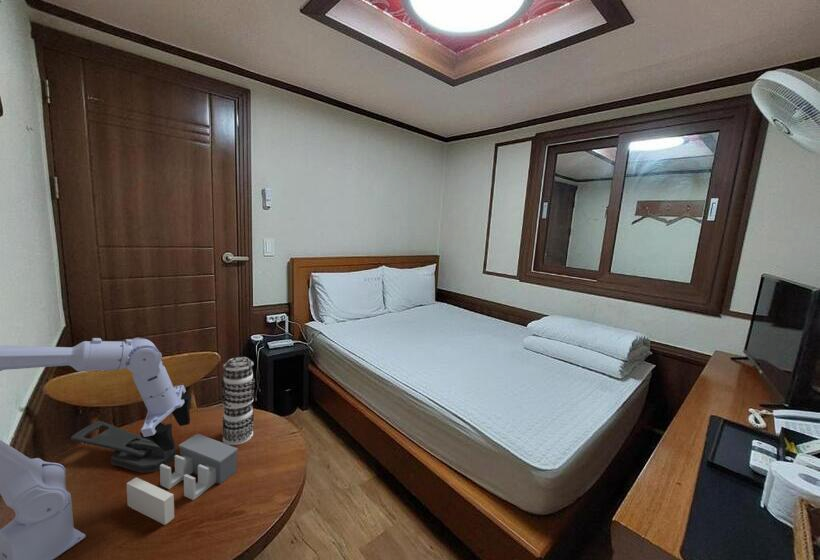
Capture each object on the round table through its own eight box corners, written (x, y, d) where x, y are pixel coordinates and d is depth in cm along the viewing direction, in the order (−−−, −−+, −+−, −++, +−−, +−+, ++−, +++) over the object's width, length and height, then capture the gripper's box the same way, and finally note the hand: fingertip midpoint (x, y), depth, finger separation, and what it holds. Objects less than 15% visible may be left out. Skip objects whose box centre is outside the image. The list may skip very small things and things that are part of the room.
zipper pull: (100, 418, 94) (181, 430, 92) (101, 439, 95) (182, 452, 93) (65, 437, 85) (153, 452, 83) (67, 460, 86) (154, 475, 84)
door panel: (174, 518, 73) (173, 494, 72) (165, 525, 71) (164, 501, 70) (137, 500, 77) (136, 477, 76) (127, 506, 75) (126, 483, 74)
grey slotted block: (198, 502, 77) (198, 477, 76) (155, 483, 82) (154, 459, 81) (237, 470, 88) (237, 448, 87) (197, 454, 92) (197, 433, 91)
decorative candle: (213, 443, 97) (213, 364, 93) (234, 425, 106) (234, 352, 103) (242, 448, 96) (242, 368, 92) (260, 429, 105) (261, 356, 102)
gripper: (158, 408, 67) (180, 457, 72) (190, 367, 81) (207, 411, 85) (120, 415, 66) (146, 464, 71) (159, 372, 80) (178, 416, 84)
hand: (177, 436), depth 78 cm, fingers open, 7 cm apart
